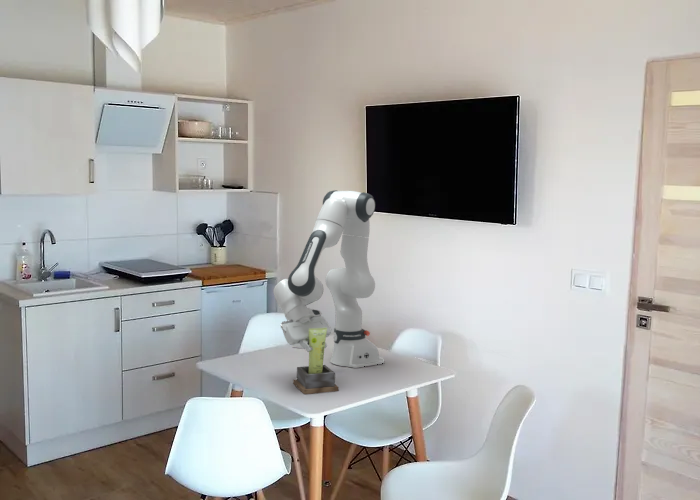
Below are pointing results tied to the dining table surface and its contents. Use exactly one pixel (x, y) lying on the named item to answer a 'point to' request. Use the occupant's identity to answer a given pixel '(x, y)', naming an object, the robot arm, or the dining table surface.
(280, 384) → the dining table surface
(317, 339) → the tube
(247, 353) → the dining table surface
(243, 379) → the dining table surface
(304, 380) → the holder
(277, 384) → the dining table surface
